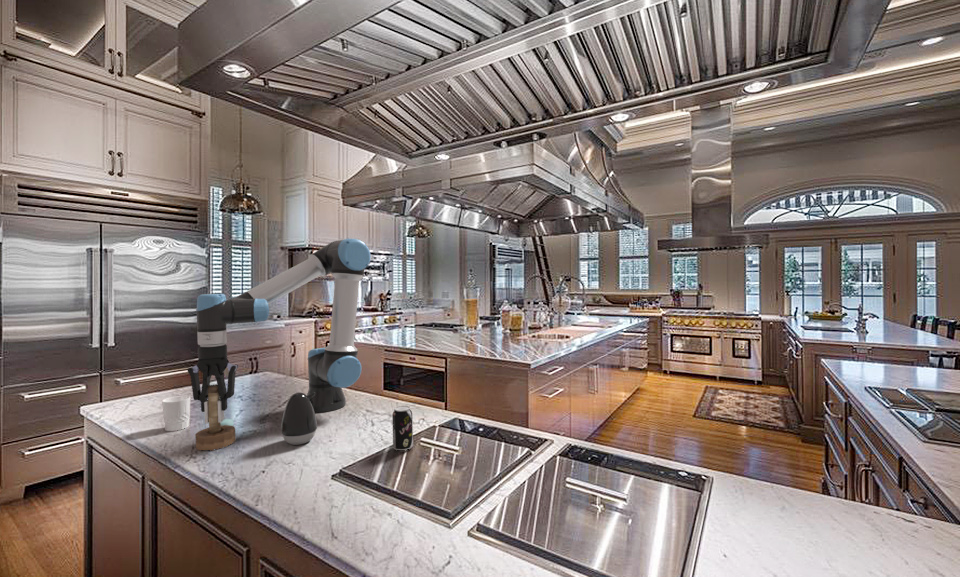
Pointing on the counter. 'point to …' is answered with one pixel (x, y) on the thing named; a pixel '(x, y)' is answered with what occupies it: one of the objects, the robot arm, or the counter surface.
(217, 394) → the tan wooden rod
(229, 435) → the wooden peg base
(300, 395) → the black egg shaped speaker
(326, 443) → the counter surface
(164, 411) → the white cup
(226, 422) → the small bead
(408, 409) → the beverage can
